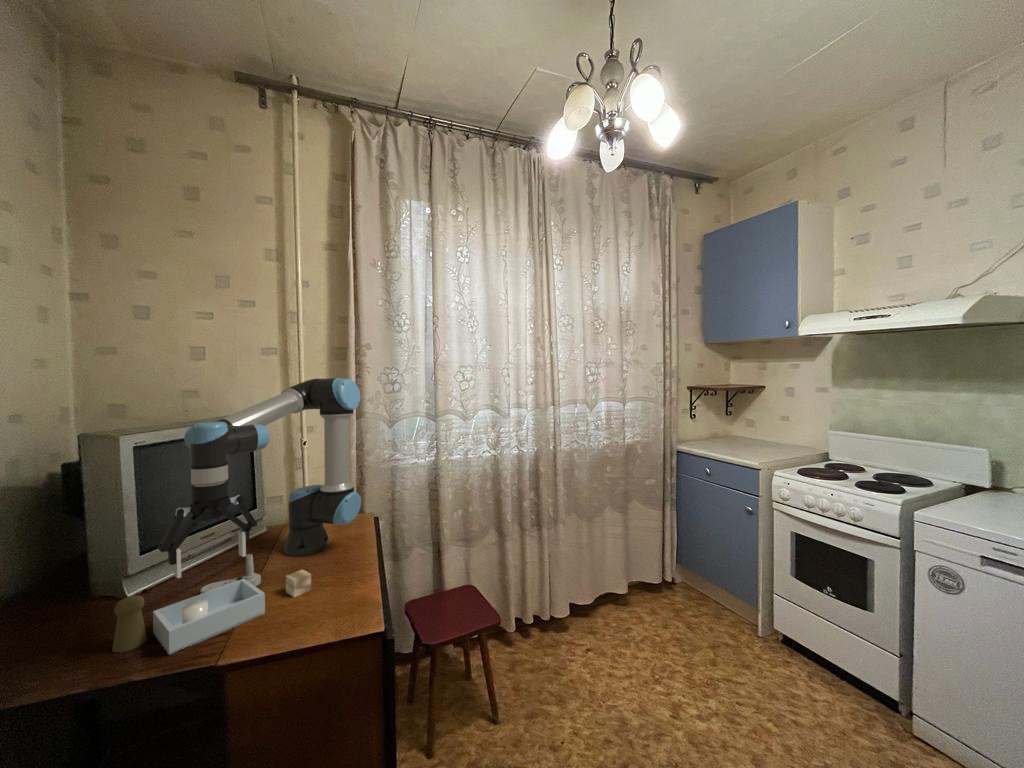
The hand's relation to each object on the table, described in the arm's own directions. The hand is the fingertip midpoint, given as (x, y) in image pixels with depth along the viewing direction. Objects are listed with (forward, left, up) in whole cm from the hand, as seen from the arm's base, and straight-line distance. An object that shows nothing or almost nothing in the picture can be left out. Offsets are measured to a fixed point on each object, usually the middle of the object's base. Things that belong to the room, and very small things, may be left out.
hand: (211, 565), depth 99 cm
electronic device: (-10, -18, -17) cm, 27 cm away
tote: (-1, -3, -16) cm, 16 cm away
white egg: (+4, 0, -16) cm, 16 cm away
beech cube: (-22, 0, -16) cm, 27 cm away
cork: (+14, -9, -16) cm, 23 cm away
